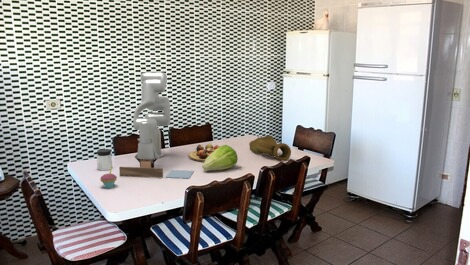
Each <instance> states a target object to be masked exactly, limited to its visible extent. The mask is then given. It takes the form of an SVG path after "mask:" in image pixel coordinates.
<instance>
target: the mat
mask: <svg viewBox="0 0 470 265" xmlns="http://www.w3.org/2000/svg"><path fill="white" fill-rule="evenodd" d="M194 172H195V170H188V169H187V170H186V169H185V170H179V169H171V170H170V171H169V173H168V174H167V175H166V176H165V179H180V178H182V179H183V180H189V179H191V177H192V176H193V173H194ZM182 179H181V180H182Z"/></svg>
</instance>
